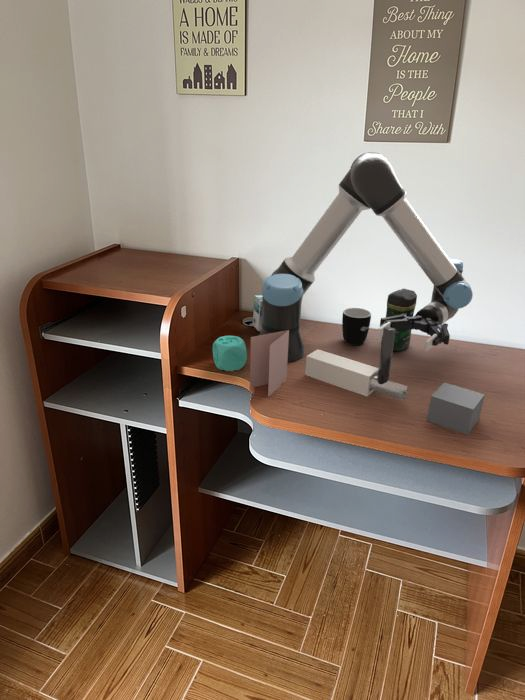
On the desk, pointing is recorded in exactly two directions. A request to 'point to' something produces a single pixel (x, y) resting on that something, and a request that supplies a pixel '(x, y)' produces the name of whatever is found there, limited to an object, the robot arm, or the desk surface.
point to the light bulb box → (257, 312)
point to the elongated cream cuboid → (340, 371)
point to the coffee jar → (398, 305)
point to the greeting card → (269, 360)
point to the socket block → (455, 408)
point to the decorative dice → (229, 353)
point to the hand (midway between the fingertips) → (402, 339)
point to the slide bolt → (387, 368)
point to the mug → (355, 325)
